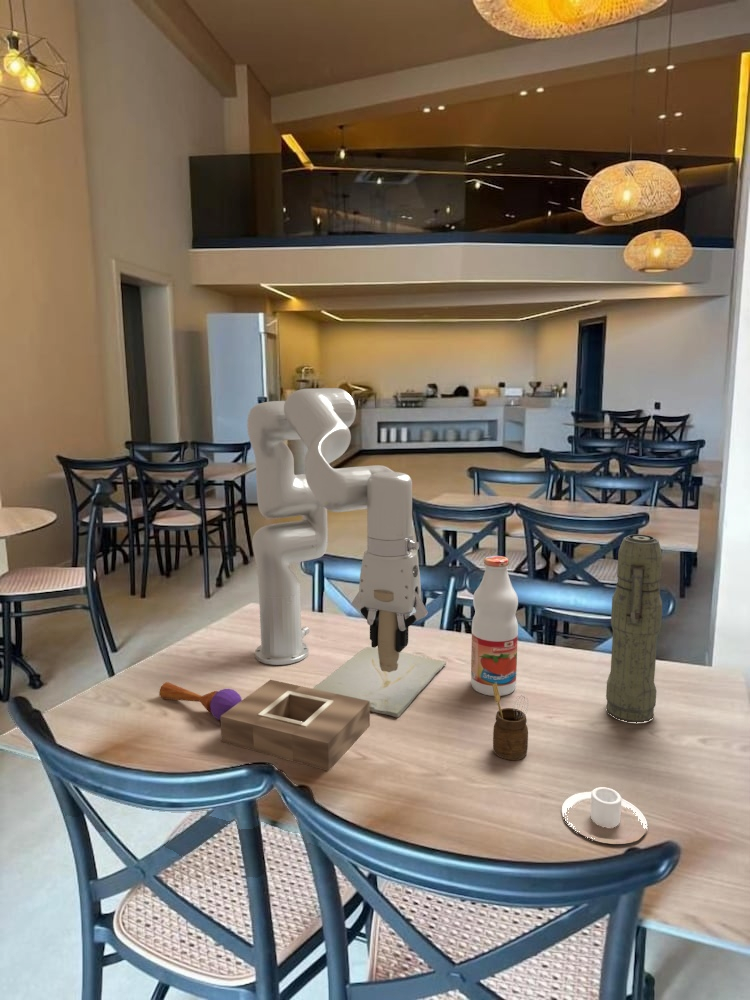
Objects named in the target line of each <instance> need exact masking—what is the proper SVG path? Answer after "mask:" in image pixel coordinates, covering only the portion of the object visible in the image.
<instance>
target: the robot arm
mask: <svg viewBox="0 0 750 1000" xmlns="http://www.w3.org/2000/svg"><path fill="white" fill-rule="evenodd" d="M356 408H357V407H356V404H355V401H354V399H353V396H351V395H350V393H348V392H347V391H346V390H345V389H342V388H340V387H339V388H336V387H333V388H332V387H325V388H323V387H322V388H321V387H320V388H301V389H298V390H294V392H291V393H290V394H289V395H288V396H287V397H286V398H285V400H273V401H272V400H271V401H265V402H260V403H258V404H255V405H253V407H252V408H251V409H250V410H249V412H248V416H247V419H246V420H247V422H246V424H247V425H246V427H247V434H248V435H247V436H248V438H249V442H250V445H251V447H252V450H253V454H254V459H255V474H256V477H255V478H256V479H255V480H256V496H257V497H256V499H257V507H258V511H259V513H260V515H262V517H264V518H267V519H283V518H291V517H293V518H294V517H299V516H300V517H301V516H302V520H294V521H286V522H278V523H271V524H267V525H264V526H261V527H260V528H258V529H257V530H256V531H255V533H254V534H253V536H252V549H253V554H254V558H255V565H256V569H257V581H258V583H257V584H258V599H259V604H258V605H259V624H260V628H259V629H260V645H259V646H257V647H256V649H255V651H254V658H255V659H256V660H257V661H259V662H260V663H262V664H266V665H273V666H282V665H283V666H284V665H290V664H294V663H295V664H296V663H297V662H298V663H299V662H300V661H302V660H304V659H305V658H306V657H307V656H308V655H309V653H310V652H309V646H308V645H307V644H306V643H304V642H303V639H304V637H306V636H307V635H309V633H310V628H309V627H308V626H303V627H302V613H301V611H302V610H301V584H300V583H301V582H300V580H299V577H298V575H297V574H296V573H295V572H294V571H293V570H292V569H291V568H290V565H291V564H296V563H301V562H307V561H312V560H316V559H320V558H322V557H323V556H324V555H325V554H326V552H327V549H328V543H329V542H328V541H329V530H328V527H329V526H328V511H329V512H333V513H344V512H345V513H346V512H353V511H359V510H366V513H367V514H366V515H367V517H366V521H367V522H366V523H367V526H366V527H367V528H366V529H367V530H366V534H367V536H366V537H367V538H366V542H367V543H366V544H367V545H366V547H367V548H366V550H365V551H364V553H363V554H362V555H363V556H362V561H361V565H360V571H359V585H358V588H359V589H358V592H357V593H356V595H355V596H354V598H353V600H351V605H352V606H353V607H354V608H355V609H357V610H358V611H359V612H360V613H361V615H362V616H363V617H364V619H365V620H366V623H367V625H369V640H370V641H371V642H370V643H371V646H370V647H374V648H375V647H377V648H378V625H379V610H381V611H388V612H393V613H396V614H397V620H398V629H397V630H396V651H397V652H402V651H403V650H404V649H405V648H406V647H407V646H408V645H409V627H410V626H411V625H413V624H414V623H416V622H417V621H420V620H422V619H423V618H425V617H426V616H427V615H428V614H429V611H428V610H427V608H426V606H425V604H424V603H423V600H422V589H421V588H422V586H421V573H420V572H421V571H420V566H419V560H418V556H417V553H416V552H413V551H418V550H419V549H420V542H419V541H415V540H414V536H413V534H412V531H413V480H412V478H411V477H410V475H408V474H407V473H404V472H399V471H394V470H392V469H391V468H389V467H388V466H385V465H381V464H380V465H378V464H376V465H375V464H374V465H365V466H363V465H362V466H351V467H341V468H334V467H332V466H331V465H330V464H331V463H332V462H335V460H338V459H339V458H341V456H343V454H345V452H346V451H348V448H349V446H350V444H351V439H352V434H351V431H350V427H351V425H352V424H353V423H354V421H355V419H356V415H357V410H356ZM292 440H293V441H297V440H298V441H299V440H301V441H302V442H303V444H304V445H305V446H306V448H307V450H306V451H307V452H306V455H305V457H304V466H303V467H304V473H301V474H295V459H294V455H293V452H292V451H291V449H290V447H289V446H288V444H286V442H285V441H292ZM374 590H376V591H382V592H388V593H393V596H394V600H392V601H390V602H382V601H379V600H377V599H376V598H374ZM413 610H415V612H414V613H413ZM411 613H412V614H411Z"/></svg>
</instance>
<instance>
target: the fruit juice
mask: <svg viewBox="0 0 750 1000" xmlns="http://www.w3.org/2000/svg"><path fill="white" fill-rule="evenodd" d="M509 561H510V560H509V559H508V558H507V557H506V556H501V555H490V556H486V557H485V558H484V561H483V564H484V567H485V570H484V573H483V576H482V579H481V582H480V584H479V586H478V587H477V588H476V590H475V591H474V593H473V597H472V598H473V600H472V604H473V608H474V611H475V612H474V616H473V617H472V621H471V654H470V655H471V657H470V661H471V662H470V665H471V666H470V683H471V687H472V688H473V690H474V691H476V692H477V693H480V694H482V695H485V696H491V697H495V696H494V691H493V686H492V685H494V683H495V682H496V683H497V687H498V691H499V695H500V697H503V696H507V695H509V694H511V693H513V692H514V691H515V689H516V685H517V665H518V664H517V663H518V662H517V661H518V636H519V635H518V634H519V627H518V620H517V617H516V612H517V610H518V607H519V598H518V594H517V592H516V591H515V589H514V587H513V584H512V582H511V579H510V575H509V573H508V568H509V565H510V564H509V563H510V562H509Z"/></svg>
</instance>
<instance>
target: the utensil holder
mask: <svg viewBox="0 0 750 1000" xmlns="http://www.w3.org/2000/svg"><path fill="white" fill-rule="evenodd" d="M492 686H493V691H494V696H493V697H494V701H495V703H497V707H498V711H496V715H495V722H494V724H493V730H492V731H493V732H492V734H493V735H492V747H493V748H492V749H493V751H494V753H495V755H497V756H498V757H500V758H502V759H504V760H506V761H518V760H522V759H524V757H526V756H527V753H528V745H529V743H528V742H529V728H528V725H527V721H528V720H527V716H526V714H527V713H525V710H528V709H529V707H526V706H529V703H526V704H527V705H526V706H524V705H522V706H521V702H522V699H523V702H522V704H525V701H526V700H527V701H529V700H528V698H526V696H525V695H519V696H517V698H518V699H517V698H516V699H515V700H514V705H513V707H505V708H502V707H501V704H500V703H501V702H500V701H501V696H500V695H499V691H498V687H497V683H496V682H495V683H494V685H492ZM520 698H521V700H520ZM525 699H526V700H525ZM517 702H520V703H517ZM516 704H517V705H516ZM518 704H519V705H518ZM515 706H516V707H518V706H519V707H520V706H521V707H522V708H521V709H519V708H515ZM523 706H524V707H523ZM525 707H526V709H525ZM522 709H525V710H523V711H522Z"/></svg>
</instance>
